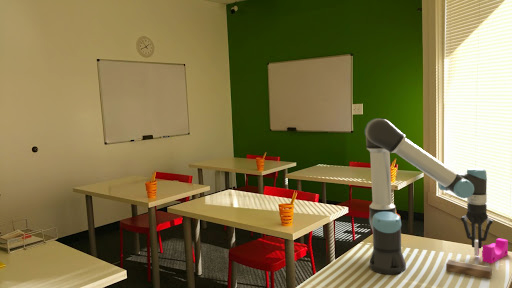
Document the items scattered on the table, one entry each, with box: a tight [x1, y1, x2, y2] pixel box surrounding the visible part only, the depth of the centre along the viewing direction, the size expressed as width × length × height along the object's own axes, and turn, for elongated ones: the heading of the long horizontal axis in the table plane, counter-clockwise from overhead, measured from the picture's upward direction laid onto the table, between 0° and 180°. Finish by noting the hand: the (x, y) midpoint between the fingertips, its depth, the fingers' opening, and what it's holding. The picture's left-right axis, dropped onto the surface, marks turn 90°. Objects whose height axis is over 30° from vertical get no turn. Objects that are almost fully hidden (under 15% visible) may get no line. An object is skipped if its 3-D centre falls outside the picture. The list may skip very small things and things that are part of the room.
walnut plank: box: [445, 259, 493, 280], centre depth 165 cm, size 16×5×3 cm, turn 52°
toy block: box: [481, 237, 509, 264], centre depth 179 cm, size 15×6×8 cm, turn 125°
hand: (476, 254), depth 180 cm, fingers closed
